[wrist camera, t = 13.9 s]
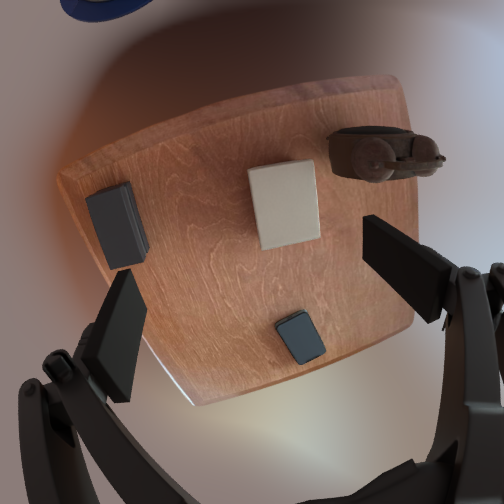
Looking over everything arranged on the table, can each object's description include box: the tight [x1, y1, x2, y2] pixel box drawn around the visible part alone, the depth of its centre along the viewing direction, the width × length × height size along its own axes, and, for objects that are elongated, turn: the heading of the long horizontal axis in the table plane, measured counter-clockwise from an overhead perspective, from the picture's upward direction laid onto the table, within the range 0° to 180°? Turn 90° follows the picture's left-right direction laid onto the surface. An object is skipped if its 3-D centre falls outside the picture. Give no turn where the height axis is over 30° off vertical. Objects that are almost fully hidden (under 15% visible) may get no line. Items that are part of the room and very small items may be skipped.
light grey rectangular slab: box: [247, 159, 320, 251], centre depth 44 cm, size 13×10×2 cm
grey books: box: [85, 181, 150, 270], centre depth 41 cm, size 12×6×6 cm, turn 9°
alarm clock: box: [326, 126, 446, 183], centre depth 36 cm, size 15×7×20 cm, turn 100°
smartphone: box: [275, 309, 326, 365], centre depth 60 cm, size 8×2×15 cm
